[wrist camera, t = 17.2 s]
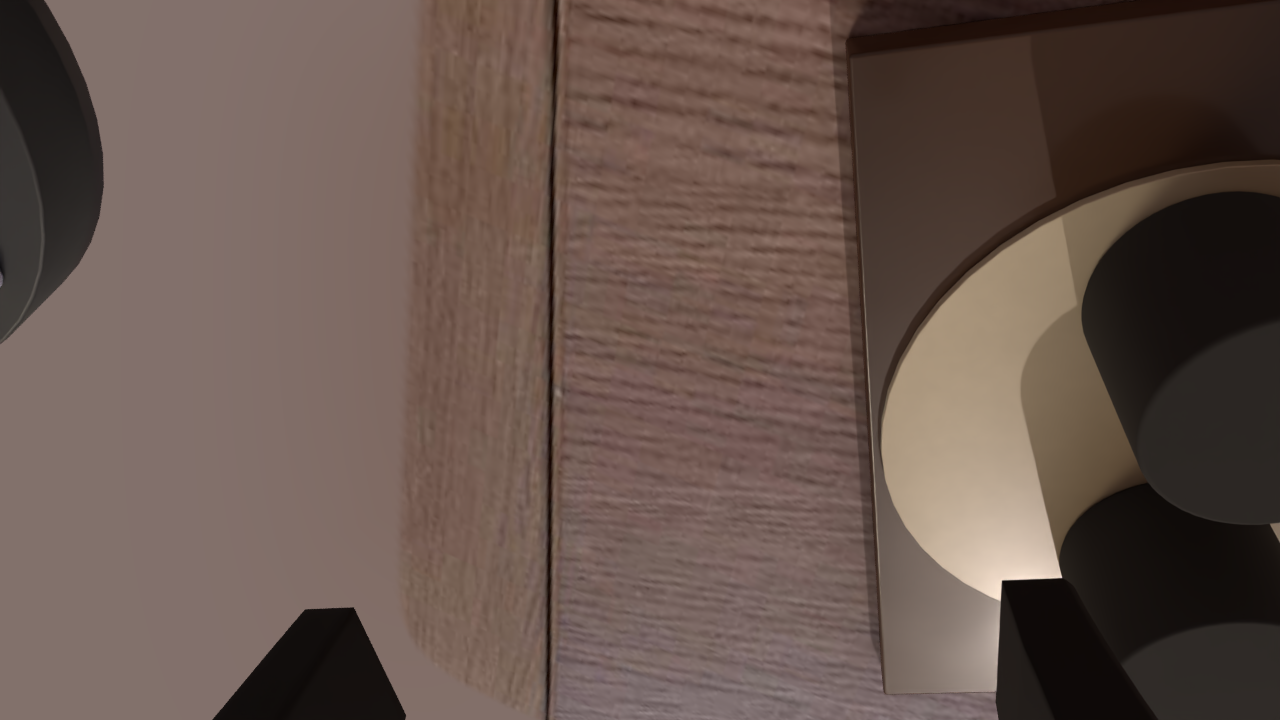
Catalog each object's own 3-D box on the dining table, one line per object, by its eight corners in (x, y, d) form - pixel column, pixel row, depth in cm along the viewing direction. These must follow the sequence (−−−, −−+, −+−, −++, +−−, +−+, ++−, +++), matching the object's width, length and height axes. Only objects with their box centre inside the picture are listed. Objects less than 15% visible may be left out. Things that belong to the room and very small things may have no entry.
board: (881, 668, 26) (884, 702, 25) (845, 36, 17) (848, 60, 16) (1419, 654, 24) (1442, 691, 23) (1715, -78, 15) (1771, -58, 14)
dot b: (1052, 618, 23) (1093, 762, 20) (1064, 483, 21) (1111, 625, 18) (1251, 610, 22) (1321, 759, 19) (1286, 471, 20) (1372, 616, 17)
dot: (1072, 395, 19) (1124, 534, 17) (1089, 202, 17) (1152, 326, 14) (1309, 379, 19) (1405, 520, 16) (1360, 175, 16) (1484, 299, 14)
